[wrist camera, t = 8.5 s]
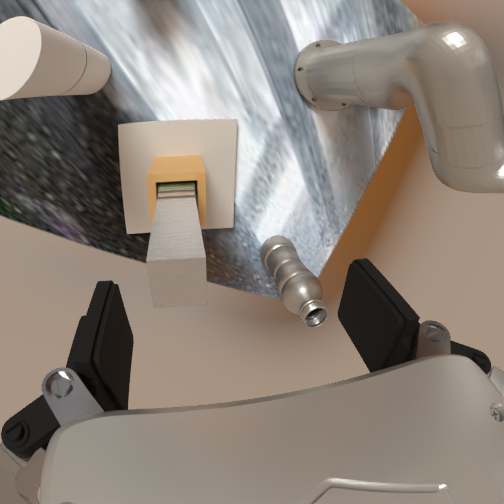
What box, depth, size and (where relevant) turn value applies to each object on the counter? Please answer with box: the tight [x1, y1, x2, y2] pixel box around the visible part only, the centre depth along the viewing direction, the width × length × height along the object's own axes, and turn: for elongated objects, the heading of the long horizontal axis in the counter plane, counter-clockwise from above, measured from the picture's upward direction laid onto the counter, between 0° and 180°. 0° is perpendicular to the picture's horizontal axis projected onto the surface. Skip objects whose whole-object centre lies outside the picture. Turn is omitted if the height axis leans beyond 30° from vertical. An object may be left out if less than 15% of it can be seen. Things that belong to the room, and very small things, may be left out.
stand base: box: [118, 119, 237, 234], centre depth 40 cm, size 18×18×13 cm
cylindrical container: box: [0, 16, 111, 100], centre depth 23 cm, size 7×7×25 cm
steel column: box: [146, 180, 207, 308], centre depth 30 cm, size 4×4×22 cm
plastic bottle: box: [260, 236, 328, 328], centre depth 47 cm, size 6×7×20 cm
